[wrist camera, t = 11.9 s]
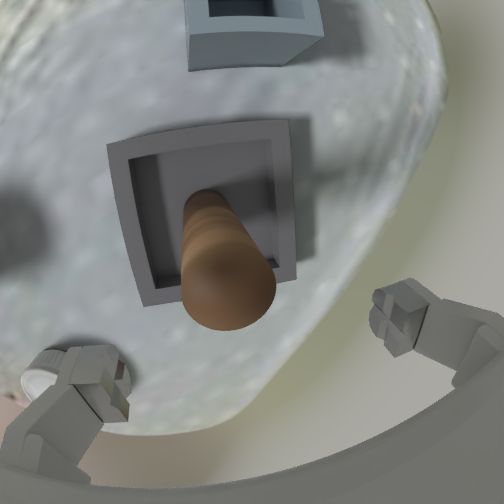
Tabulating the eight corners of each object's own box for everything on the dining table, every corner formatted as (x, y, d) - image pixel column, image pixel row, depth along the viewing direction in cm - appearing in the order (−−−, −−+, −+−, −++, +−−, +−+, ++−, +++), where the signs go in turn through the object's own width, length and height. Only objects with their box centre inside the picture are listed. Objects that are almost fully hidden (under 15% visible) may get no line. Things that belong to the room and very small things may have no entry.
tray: (115, 144, 21) (106, 144, 18) (277, 121, 23) (288, 119, 21) (146, 290, 27) (143, 306, 24) (286, 266, 29) (296, 279, 26)
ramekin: (33, 379, 28) (23, 404, 23) (32, 328, 25) (17, 354, 20) (98, 407, 32) (94, 434, 27) (110, 362, 29) (103, 393, 24)
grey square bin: (184, -1, 17) (186, -54, 8) (271, -3, 18) (306, -48, 10) (188, 71, 20) (189, 34, 12) (280, 66, 21) (324, 36, 13)
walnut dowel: (180, 193, 23) (171, 256, 10) (226, 185, 24) (273, 239, 11) (187, 236, 25) (192, 337, 12) (231, 229, 25) (278, 320, 13)
